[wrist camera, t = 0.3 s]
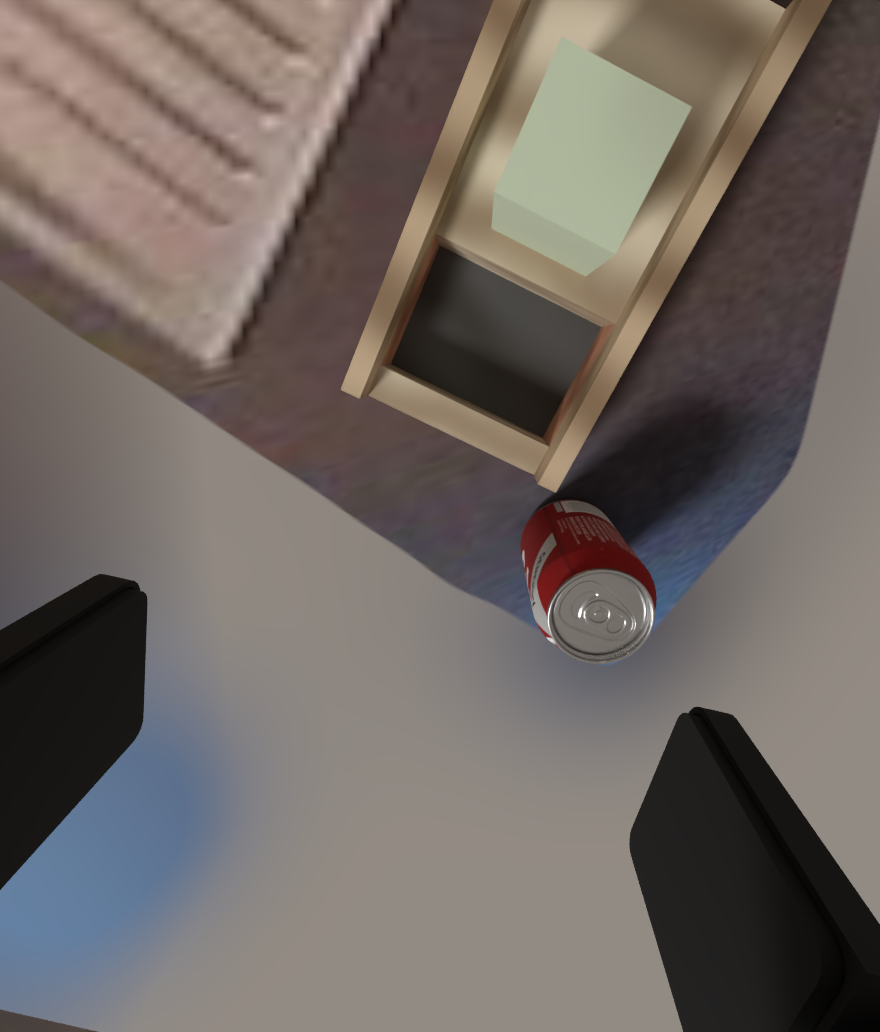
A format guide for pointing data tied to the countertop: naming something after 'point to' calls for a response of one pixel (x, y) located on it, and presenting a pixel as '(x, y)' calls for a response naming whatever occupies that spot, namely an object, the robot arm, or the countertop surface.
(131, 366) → the countertop surface
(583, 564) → the soda can
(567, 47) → the sage block
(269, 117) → the countertop surface
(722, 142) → the channel track
